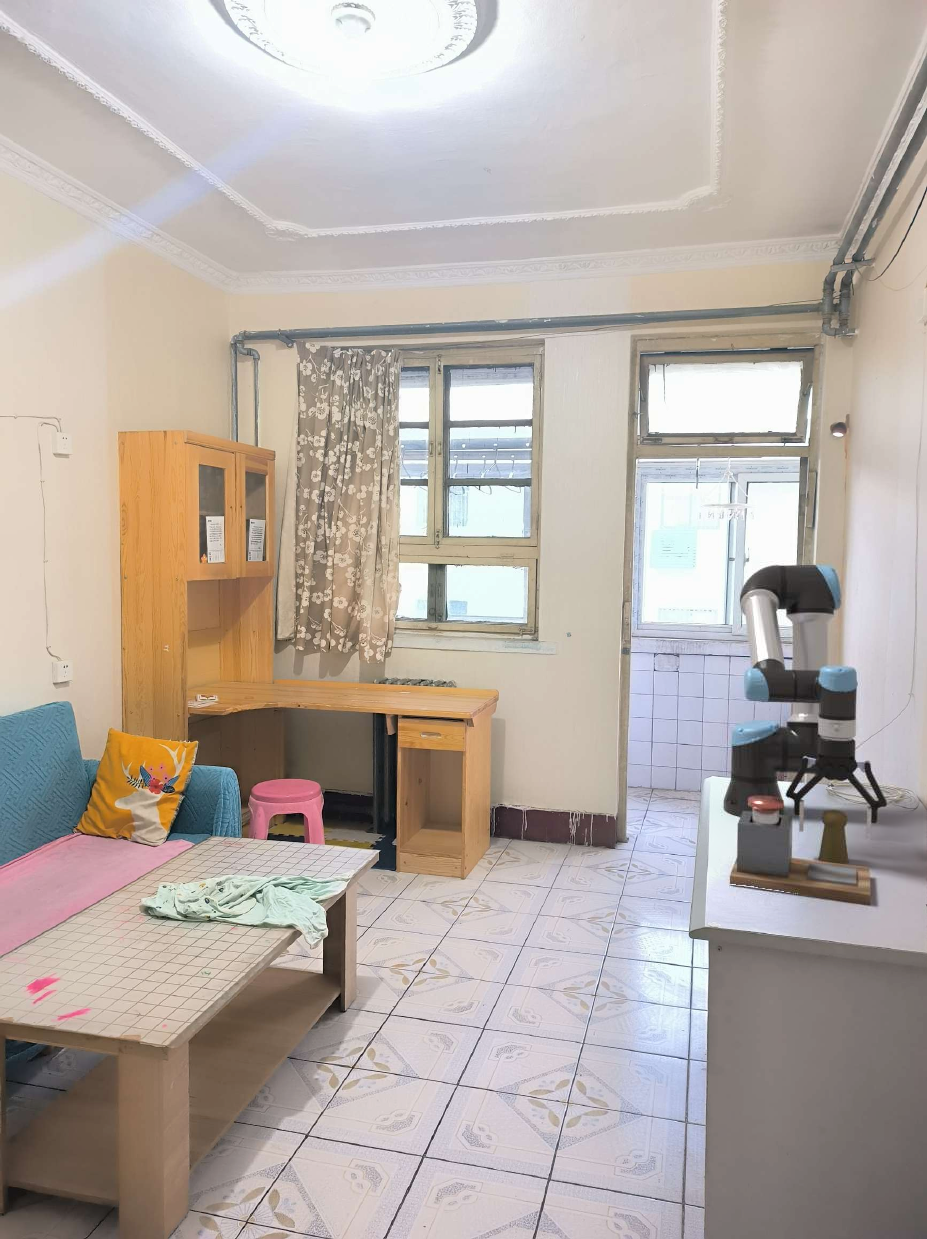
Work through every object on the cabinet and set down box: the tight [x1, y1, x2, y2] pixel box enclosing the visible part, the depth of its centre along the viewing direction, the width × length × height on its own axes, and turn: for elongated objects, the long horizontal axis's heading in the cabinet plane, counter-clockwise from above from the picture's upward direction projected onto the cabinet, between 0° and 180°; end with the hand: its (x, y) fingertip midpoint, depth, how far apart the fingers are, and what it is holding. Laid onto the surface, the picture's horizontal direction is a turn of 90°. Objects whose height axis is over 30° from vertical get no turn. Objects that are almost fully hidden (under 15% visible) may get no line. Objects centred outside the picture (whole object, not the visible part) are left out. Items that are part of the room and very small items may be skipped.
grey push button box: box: [736, 811, 794, 878], centre depth 184 cm, size 10×10×10 cm
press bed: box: [729, 857, 872, 906], centre depth 181 cm, size 16×26×3 cm, turn 66°
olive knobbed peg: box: [818, 809, 849, 865], centre depth 193 cm, size 6×6×11 cm
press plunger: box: [748, 795, 785, 826], centre depth 183 cm, size 7×7×9 cm
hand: (834, 833), depth 193 cm, fingers open, 13 cm apart
